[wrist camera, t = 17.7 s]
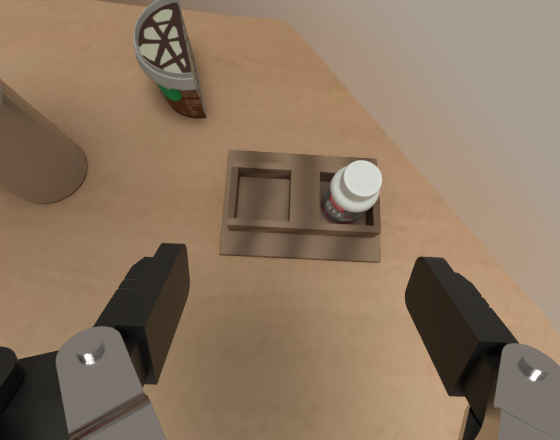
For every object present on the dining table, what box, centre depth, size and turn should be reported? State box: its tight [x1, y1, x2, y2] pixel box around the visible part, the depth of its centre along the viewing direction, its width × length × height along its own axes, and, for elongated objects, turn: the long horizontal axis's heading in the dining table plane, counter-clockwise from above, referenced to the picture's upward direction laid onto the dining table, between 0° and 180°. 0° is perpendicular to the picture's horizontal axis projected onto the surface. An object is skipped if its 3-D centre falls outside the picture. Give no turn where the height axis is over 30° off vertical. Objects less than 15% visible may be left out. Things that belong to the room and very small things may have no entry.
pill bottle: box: [321, 160, 382, 225], centre depth 36 cm, size 5×5×10 cm
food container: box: [134, 0, 206, 118], centre depth 41 cm, size 12×6×10 cm, turn 13°
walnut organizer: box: [220, 150, 381, 263], centre depth 40 cm, size 20×14×4 cm
